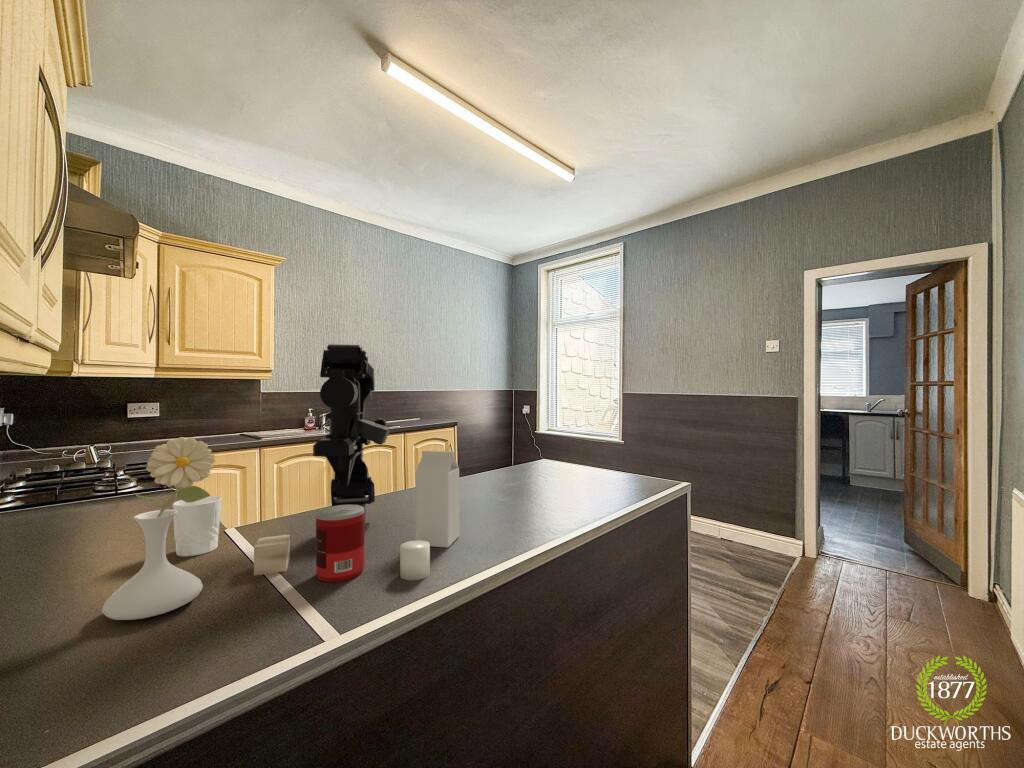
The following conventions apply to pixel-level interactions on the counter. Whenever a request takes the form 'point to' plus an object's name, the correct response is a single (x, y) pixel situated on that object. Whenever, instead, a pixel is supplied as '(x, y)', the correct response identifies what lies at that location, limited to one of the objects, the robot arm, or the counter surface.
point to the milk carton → (437, 498)
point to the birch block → (271, 554)
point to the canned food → (340, 542)
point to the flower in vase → (163, 536)
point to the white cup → (197, 526)
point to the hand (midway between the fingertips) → (344, 486)
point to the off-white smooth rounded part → (414, 560)
